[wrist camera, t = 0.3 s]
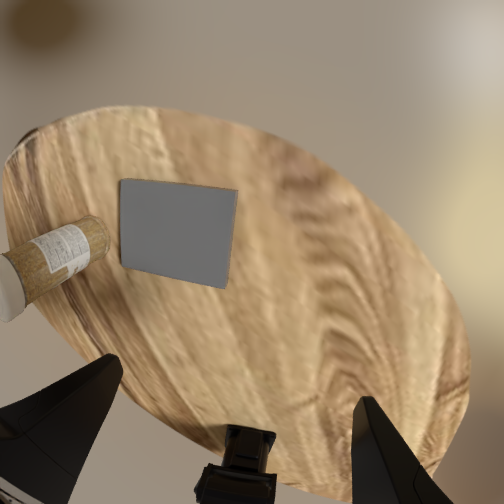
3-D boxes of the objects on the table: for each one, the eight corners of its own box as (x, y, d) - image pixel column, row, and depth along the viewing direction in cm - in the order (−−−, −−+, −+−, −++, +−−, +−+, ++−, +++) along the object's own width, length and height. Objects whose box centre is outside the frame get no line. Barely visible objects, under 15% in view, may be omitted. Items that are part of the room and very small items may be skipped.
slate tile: (227, 284, 24) (224, 289, 23) (127, 262, 24) (121, 266, 24) (238, 190, 21) (235, 191, 20) (127, 178, 22) (121, 179, 21)
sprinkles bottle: (92, 263, 25) (-1, 328, 13) (74, 225, 24) (-28, 274, 12) (119, 248, 24) (15, 319, 12) (99, 206, 23) (-16, 253, 10)
